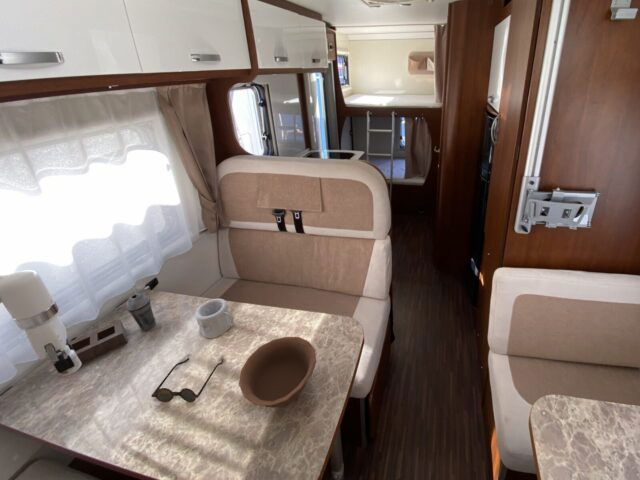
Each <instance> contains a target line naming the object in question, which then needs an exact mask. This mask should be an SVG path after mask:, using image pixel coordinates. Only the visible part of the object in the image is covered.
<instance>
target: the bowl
mask: <svg viewBox="0 0 640 480" xmlns="http://www.w3.org/2000/svg"><path fill="white" fill-rule="evenodd" d="M316 364H317V355H316V349H315V348H314V346H313V345H312V343H311V342H310V341H309V340H307V339H304V338H302V337H300V336H284V337H278V338H275V339H271V340H269V341H267V342H266V343H264V344H262V345H260V346H259V347H258V348H257V349H256V350H255V351H254V352H252V354H250V355H249V357H248V358H247V359H246V361H245V362H244V364H243V366H242V367H241V370H240V375H239V381H238V387H239V389H240V391H241V394H242V396H243V397H244V398H245V399H246V400H248V401H249V402H251V403H252V404H253V405H255V406H263V407H265V408H275V409H276V408H277V409H278V408H281V407H283V406H286V405H288V404H290V403H291V402H292V401H293V400H295V399H296V398H297V397H298V396H299V395H300V394H301V392H302V391H304V389H305V387H306V386H307V383H308V381H309V379H310V378H311V377H312V375H313V373H314V370H315V367H316Z"/></svg>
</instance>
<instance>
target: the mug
mask: <svg viewBox="0 0 640 480" xmlns="http://www.w3.org/2000/svg"><path fill="white" fill-rule="evenodd" d="M194 316H195V319H196V322H197V325H198V327H199V330H200V333H201V335H202V336H203V338H207V339H213V338H218V337H220V336H222V335H223V334H225V333H226V332H227V331H229V330H230V328H231V327H234V326H235V323H234V320H233V316H232V314H231V313H230V310H229V306H228V301H226V299H224V298H212V299H209V300H207V301H205V302H203V303H202V304H201V305H199V306H198V307H197V309H196V310H195V313H194Z"/></svg>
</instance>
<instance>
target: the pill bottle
mask: <svg viewBox="0 0 640 480" xmlns="http://www.w3.org/2000/svg"><path fill="white" fill-rule="evenodd" d="M55 350H58V349H55ZM64 350H65V352H66V354H67V356H68V355H69V356H70V358H71V359H72V361H73V362H74V364H75V366H74V367H72V368H70V369H68V370H66V371H64V372H61V373H59V374H60V375H61V376H64V377H66V376H69V375H72V374H74V373H76V372H77V371H79V369H80V368H81V366H82V365H81V361H80V360H79V358H78V357H77V355H76V353H75V352H74V351H73V350H70V348H69V346H68V345H66V346H65V349H64ZM57 355H58V356H59V355H62V354H61V352H59V353H57Z"/></svg>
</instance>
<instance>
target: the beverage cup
mask: <svg viewBox="0 0 640 480" xmlns="http://www.w3.org/2000/svg"><path fill="white" fill-rule="evenodd" d="M132 285H133V289H134V294H133V295H131V296H130V297H129V298H128V300H127V301H126V311H127V312H128V313H129V314H130V315H131V316H132V318H133V319H134V321H135V323H136V324H137V325H138V327H139V329H141V331H142V332H149V331H151V330H153V329H154V328H155V327H156V326H157V322H156V320H155V315H154V312H153V308H152V306H151V298H150V297H149V296H148V295H147V294H144V293H138V291H137V288H136V284H135V283H134V284H132Z"/></svg>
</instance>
